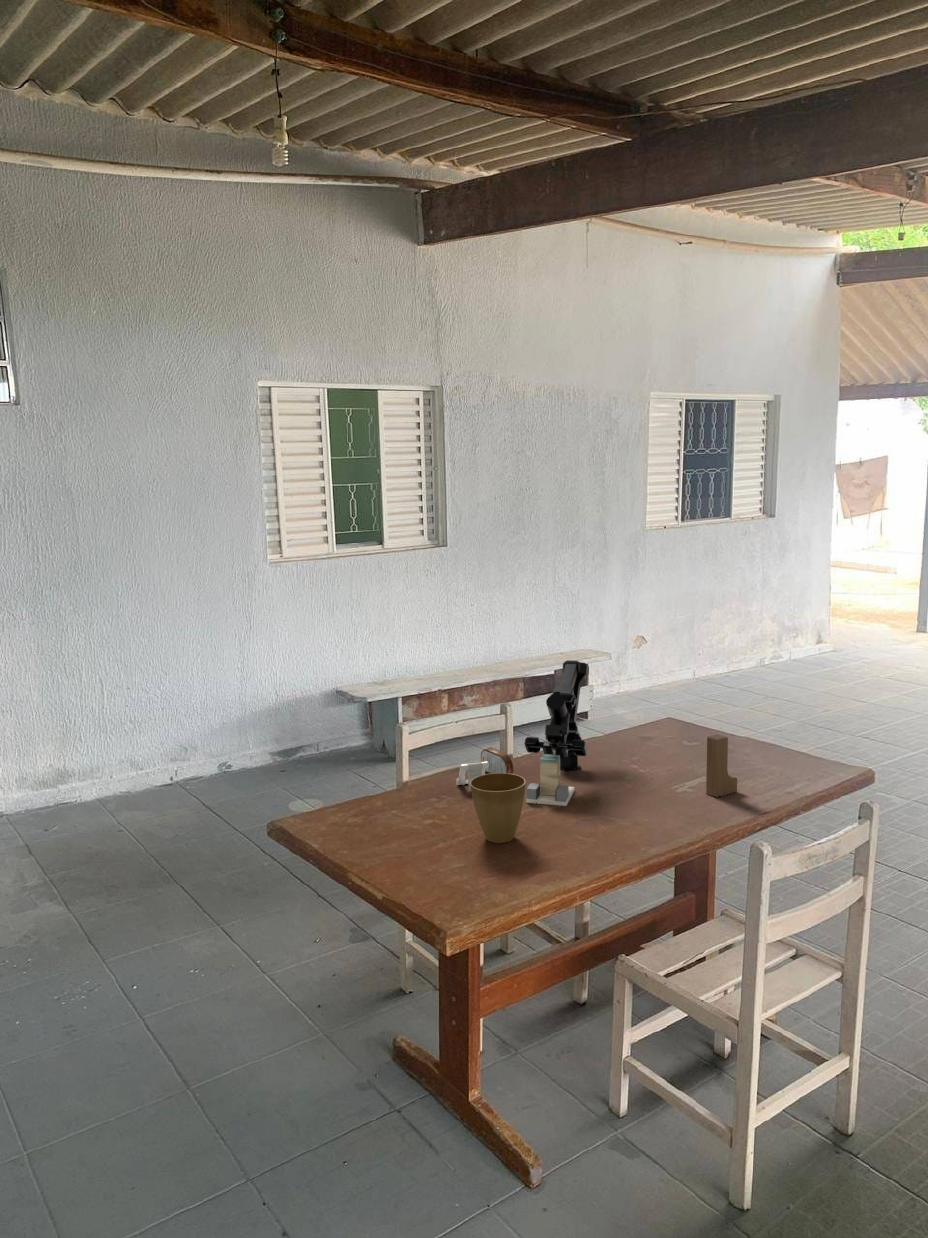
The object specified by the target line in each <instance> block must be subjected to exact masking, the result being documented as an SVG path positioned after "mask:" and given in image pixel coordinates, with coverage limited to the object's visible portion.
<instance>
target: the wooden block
mask: <svg viewBox="0 0 928 1238" xmlns="http://www.w3.org/2000/svg"><path fill="white" fill-rule="evenodd" d="M728 748H729V737H728V736H724V735H721V734H718V733H716V734H712V735H709V736H707V737H706V771H705V772H706V774H705V775H706V776H705V777H706V778H705V779H706V781H705V782H706V784H705V786H706V787H705V794H706V795H708V796H711V797H714V796H715V797H714V798H716V797H718V798H720V797H719V796H721V797H724V796H727V794H728V795H731V794H734V793H737V792H738V777H735V776H733V775H729V771H728V770H729V769H728V761H729V760H728V759H729V757H728V753H729V749H728ZM736 791H737V792H736ZM733 792H734V793H733ZM730 793H731V794H730Z"/></svg>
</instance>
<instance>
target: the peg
mask: <svg viewBox="0 0 928 1238" xmlns="http://www.w3.org/2000/svg"><path fill="white" fill-rule="evenodd" d="M539 766H540V767H539V768H540V769H539V770H540V771H539V772H540V773H539V775H540V778H539V779H540V783H539V784H540V788H541V795H554V796H555V791H556V789H557V787H558V785H561V769H560V755H555V754H554V755H548V754H544V753H543V754H542V756H541V757H540V758H539Z"/></svg>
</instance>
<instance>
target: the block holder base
mask: <svg viewBox="0 0 928 1238" xmlns="http://www.w3.org/2000/svg"><path fill="white" fill-rule="evenodd" d="M574 792H575V786H570V785H561V784H560V785H558V787H557V789H556V791H555V796H554V795H541V788H540V783H534V782H532V783H529V784H528V786H527V788H526V799H525V800H526V804H527V803H528V804H536V803H537V804H538V805H550V806H551V805H552V806H560V807H561V806H564V807H567V806H568V803H569V802H570V800H571V798H572V796H573V794H574Z"/></svg>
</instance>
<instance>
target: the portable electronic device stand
mask: <svg viewBox="0 0 928 1238" xmlns="http://www.w3.org/2000/svg"><path fill="white" fill-rule="evenodd" d="M488 767H489V764H488V762H487V761H486V762H481V761H479V762H474V763H473V762H472V763H463V764H460V766H459V774H458V778H456V779H455V782H456V783H455V784H456V786H457V785H462V786H466V785H465V784H468V788H469V789H468V790H469V792H470V791H471V787H470V781H471V780H472V779H473V778H475V777H477V776H480V775H484V774H486V771H485V770H486V768H488ZM466 775H467V777H466Z"/></svg>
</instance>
